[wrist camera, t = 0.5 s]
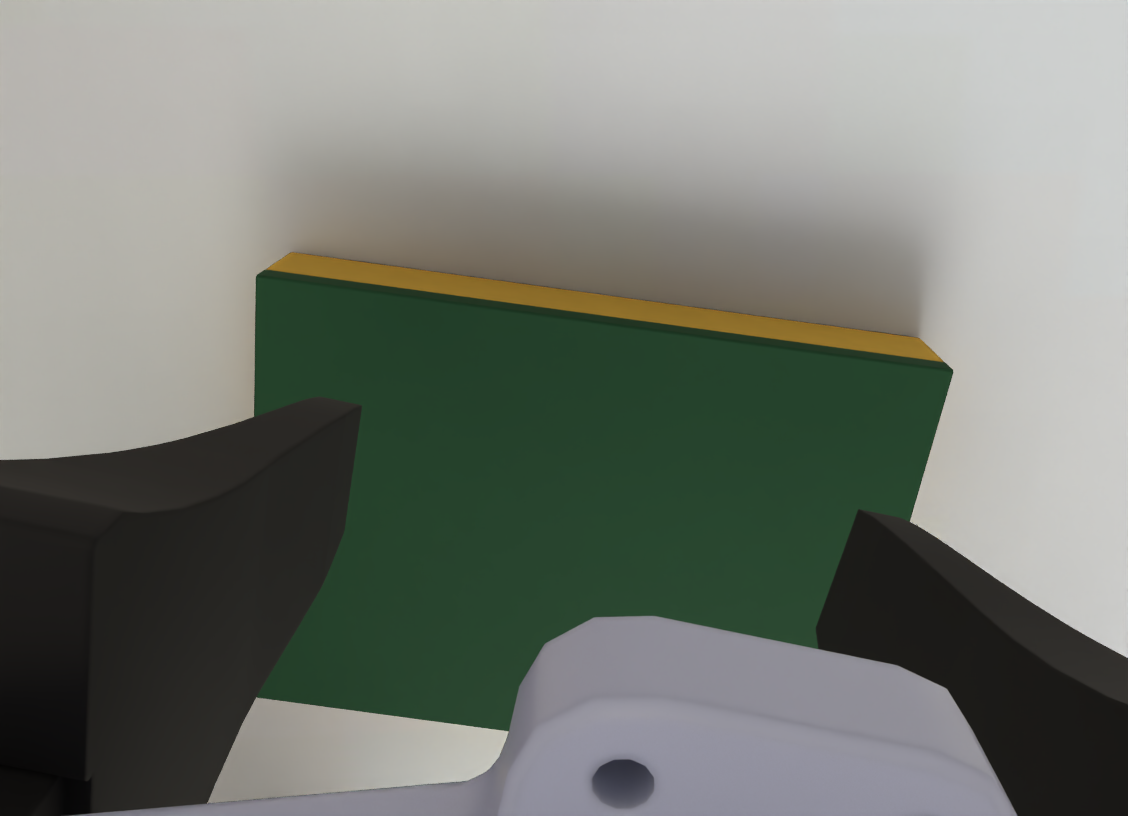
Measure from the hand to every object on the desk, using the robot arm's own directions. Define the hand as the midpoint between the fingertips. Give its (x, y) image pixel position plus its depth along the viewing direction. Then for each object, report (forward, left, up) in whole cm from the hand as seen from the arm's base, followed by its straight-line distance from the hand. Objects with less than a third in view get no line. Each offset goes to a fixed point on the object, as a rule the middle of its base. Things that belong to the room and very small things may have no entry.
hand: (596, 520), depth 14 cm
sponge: (-5, -1, -10) cm, 11 cm away
